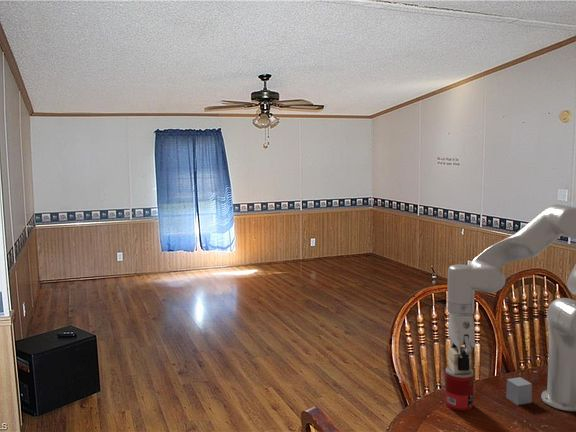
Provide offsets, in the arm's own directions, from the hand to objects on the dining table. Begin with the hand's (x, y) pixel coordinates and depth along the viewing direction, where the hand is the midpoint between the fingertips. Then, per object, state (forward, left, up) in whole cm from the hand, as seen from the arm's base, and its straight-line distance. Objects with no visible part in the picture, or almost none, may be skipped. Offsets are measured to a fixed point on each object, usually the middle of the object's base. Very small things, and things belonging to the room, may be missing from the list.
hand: (459, 365), depth 156 cm
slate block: (-19, -2, -13) cm, 23 cm away
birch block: (0, 0, -1) cm, 1 cm away
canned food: (0, 0, -13) cm, 13 cm away
